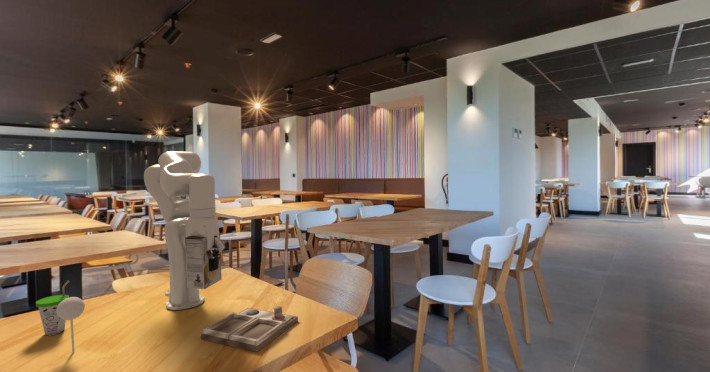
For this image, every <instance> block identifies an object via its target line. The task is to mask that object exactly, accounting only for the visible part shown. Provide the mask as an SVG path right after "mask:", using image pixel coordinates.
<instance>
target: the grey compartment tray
mask: <svg viewBox="0 0 710 372" xmlns="http://www.w3.org/2000/svg"><path fill="white" fill-rule="evenodd" d="M273 310H274V311H269V310H263V309H256V308H251V307H247V308H245V309H243V310H241V311H239V312H232V313H230V314H228V315H226V316H224V317H222V318H220V319H219V320H217V321H215V322H213V323H211V324H209V325H208V326H206V327H204V328H202V329H201V333H200V339H201V340H203V341H208V342H211V343H217V344H219V345H220V344H221V345H224V346H229V347H233V348H237V349H242V350H245V351H246V350H247V351H250V352H255V353H258V352H260V351H261V350H262V349H263V348H264V347H266V346H268V345H269V344H270V343H271V342H273V340H275V339H276V338H278V337H279V336H281V334H283V333H284V332H286V331H287V330H289V329H290V328H291V327H292V326H294V325H295V324H296V323H298V322H299V317H298V315H297V316H296V315H291V314H284V313H283V307H282V306H281V305H277V306H274V307H273Z"/></svg>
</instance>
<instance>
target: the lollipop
mask: <svg viewBox="0 0 710 372" xmlns="http://www.w3.org/2000/svg"><path fill="white" fill-rule="evenodd" d="M85 308H86V304H85V301H84V300H83V299H81V298H80V297H77V296H69V298H66V299H64V300H63V301H62V302H60V304H59V305H58V307H57V309H56V313H57V315H58V316H59V318H61V319H63V320H66V321H70V334H71V335H70V336H71V351H72V352H73V353H75V337H74V324H73V323H74V321H73V320H75V319H77V318H79V317H80V316H81V315H82V314H83V313H84V311H85ZM72 352H71V353H72Z"/></svg>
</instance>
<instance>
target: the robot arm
mask: <svg viewBox="0 0 710 372" xmlns="http://www.w3.org/2000/svg"><path fill="white" fill-rule="evenodd" d="M201 160H202V159H201V158H200V156H199V154H198V153H196V152H194V151H180V150H179V151H175V150H172V151H171V150H170V151H166V152H163V153H162V154H161V155H160V156H159V158H158V161H157V162H158V164H154V165H151V166H148V167H147V168H146V169H145V170H144V171H143V172H144V173H143V181H144V185H145V188H146V190H147V191H148V194H150V196H151V197H152V198H153V199H154V201H155V202H156V203H157V206H158V208H159V211H160V214H161V216H162V218H163V220H164V221H165V222H166V223H165V225H164V230H163V231H164V237H165V240H166V246H167V253H168V255H167V256H168V270H169V271H168V274H169V289H168V292H165V293H164V296H165V297H168V300H167V301H166V303H165V308H166V309H168V310H171V311H182V310H188V309H192V308H194V307H197V306H200V305H201V304H202V303H203V302H205V297H204V295H201V294H200V289H195V288H187V268H186V244H185V237H188V236H198V237H205V239H206V251H209V256H210V259H209V271H214V270H217V269H218V257H219V256H220V254H222V253H223V251H224V249H225V246H226V245H224V244H223V241H221V237H220V238H219V232H220V228H219V222H218V218H217V217H216V184H215V183H216V182H215V177H214V176H213V175H212V174H208V173H199V172H200V171H201V168H202V161H201ZM183 197H188V198H183ZM213 246H214V248H212V247H213ZM212 251H214V253H213V252H212Z"/></svg>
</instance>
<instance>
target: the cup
mask: <svg viewBox="0 0 710 372" xmlns="http://www.w3.org/2000/svg"><path fill="white" fill-rule="evenodd" d="M69 283H70V280H66V282H65V283H64V284H63V285H62V287H61V292H62V294H55V295H51V296H47V297H46V296H45V297H43V298H40V299H38V300H37V301H35V307H37V308H38V311H39V316H40V320H41V325H42V327H43V331H44V335H45V334H46V335H51V336H53V335H52V334H56V333H59V332H61V331H63V330H64V331H65V330H66V328H65V327H66V322H67V320H63V319H61V318H59V316H58V315H57V313H56V309H57V307H58V305H59V304H60V302H62V301H63V300H64V299H66V298H69V297H70V295H69V294H66V293H65V291H66V290H65V287H66V286H67V285H68V284H69ZM64 331H63V332H64ZM61 333H62V332H61ZM59 334H60V333H59ZM46 335H45V336H46ZM56 335H57V334H56Z"/></svg>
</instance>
